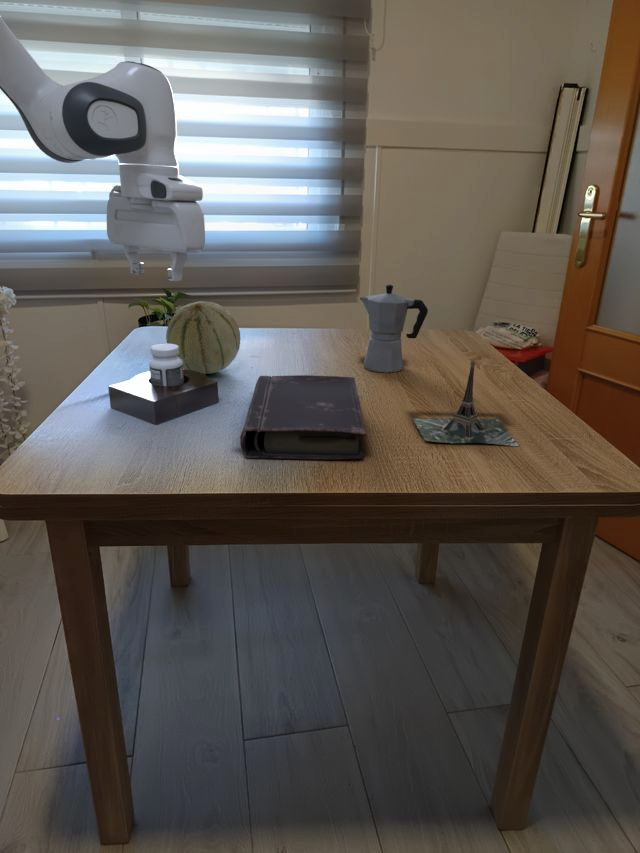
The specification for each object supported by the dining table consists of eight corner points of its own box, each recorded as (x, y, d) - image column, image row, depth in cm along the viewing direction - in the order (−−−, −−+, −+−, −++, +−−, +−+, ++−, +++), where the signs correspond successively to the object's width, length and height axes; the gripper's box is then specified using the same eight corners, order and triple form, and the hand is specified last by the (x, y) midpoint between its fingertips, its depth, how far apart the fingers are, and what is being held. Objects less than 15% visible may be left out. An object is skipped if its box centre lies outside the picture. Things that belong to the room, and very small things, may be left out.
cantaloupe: (235, 361, 128) (234, 293, 122) (246, 381, 115) (244, 306, 109) (167, 364, 124) (162, 294, 118) (170, 385, 111) (164, 307, 105)
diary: (239, 459, 82) (239, 427, 80) (255, 399, 105) (255, 373, 103) (370, 462, 82) (372, 430, 80) (357, 402, 105) (358, 376, 104)
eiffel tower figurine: (498, 421, 99) (510, 346, 94) (519, 446, 90) (534, 363, 84) (412, 420, 98) (419, 344, 93) (424, 445, 89) (434, 361, 84)
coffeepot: (347, 367, 126) (351, 284, 119) (364, 357, 134) (370, 279, 127) (413, 379, 120) (422, 292, 113) (428, 368, 127) (437, 286, 120)
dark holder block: (155, 425, 92) (154, 401, 91) (104, 405, 100) (102, 383, 98) (225, 400, 104) (224, 379, 103) (174, 384, 112) (173, 364, 110)
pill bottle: (186, 395, 106) (182, 342, 102) (184, 405, 101) (181, 350, 97) (153, 395, 105) (149, 342, 101) (150, 406, 100) (146, 351, 96)
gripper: (92, 183, 93) (101, 271, 98) (178, 187, 82) (182, 286, 87) (125, 185, 97) (132, 269, 103) (210, 189, 86) (213, 282, 92)
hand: (156, 277), depth 95 cm, fingers open, 8 cm apart
